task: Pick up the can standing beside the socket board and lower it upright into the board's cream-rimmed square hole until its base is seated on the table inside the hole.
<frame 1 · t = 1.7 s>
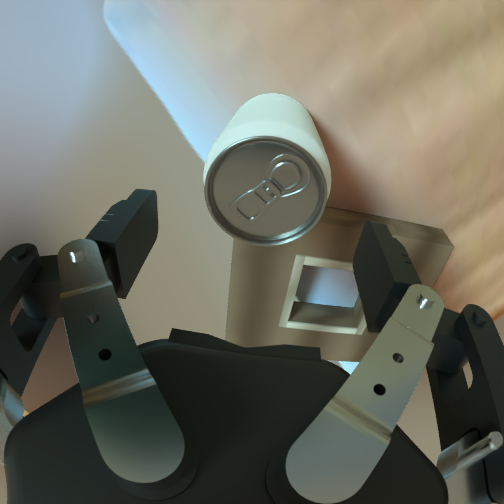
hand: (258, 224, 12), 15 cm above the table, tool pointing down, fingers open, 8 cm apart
can: (273, 130, 24), on the table
socket board: (330, 278, 32), on the table
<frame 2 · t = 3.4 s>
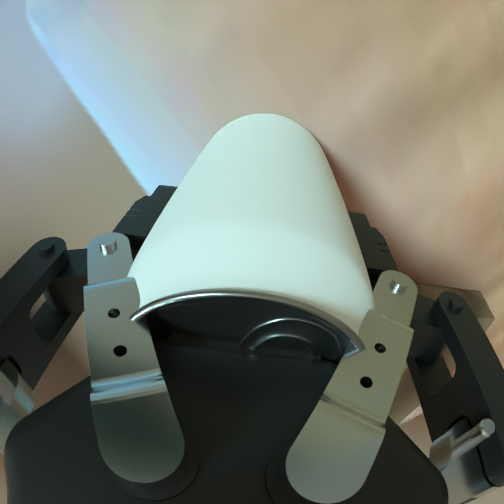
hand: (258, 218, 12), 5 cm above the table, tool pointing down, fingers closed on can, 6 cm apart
can: (264, 170, 16), on the table, touching gripper
socket board: (337, 350, 24), on the table
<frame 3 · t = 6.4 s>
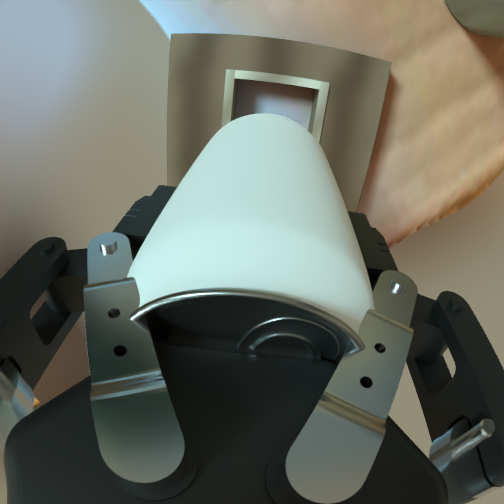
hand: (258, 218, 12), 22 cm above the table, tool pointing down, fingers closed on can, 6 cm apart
can: (264, 169, 16), point 17 cm above the table, touching gripper
socket board: (272, 115, 30), on the table
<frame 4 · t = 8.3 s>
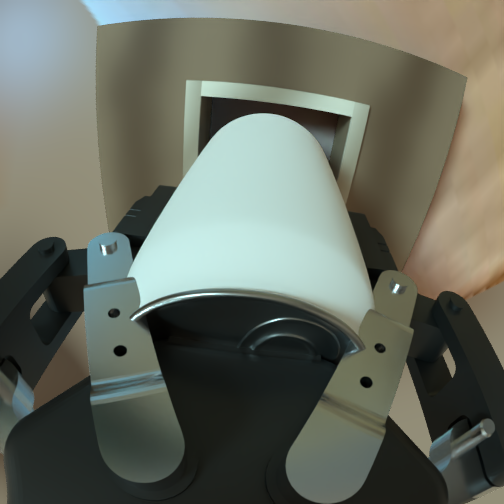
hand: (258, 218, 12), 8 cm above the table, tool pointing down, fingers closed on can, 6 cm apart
can: (264, 170, 16), point 3 cm above the table, touching gripper
socket board: (269, 153, 19), on the table
when the fingers open (6 cm above the table, at t = 9.7 s): can drops 1 cm, resting in socket board.
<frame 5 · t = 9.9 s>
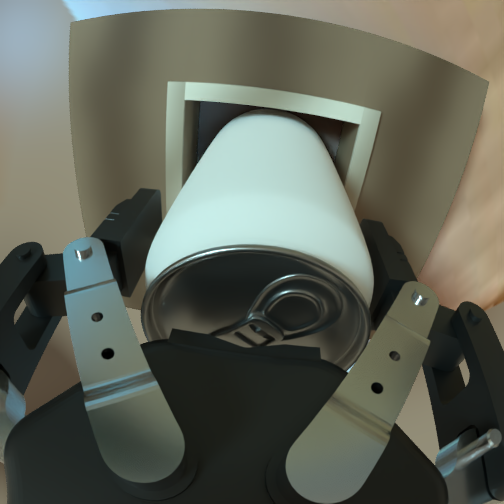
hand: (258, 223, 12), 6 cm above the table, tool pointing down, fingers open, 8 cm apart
can: (268, 162, 17), resting in socket board
socket board: (264, 164, 17), on the table
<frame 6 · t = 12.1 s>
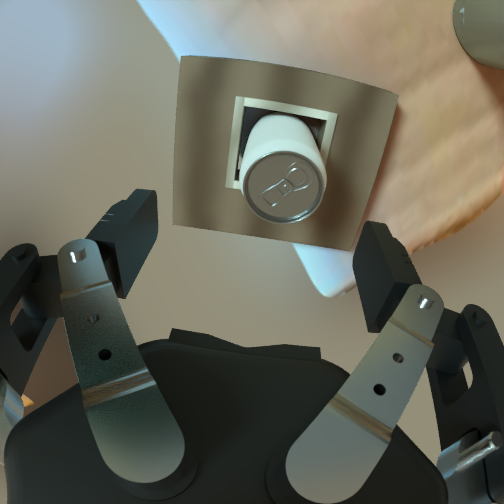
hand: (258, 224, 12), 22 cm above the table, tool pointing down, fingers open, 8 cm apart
can: (280, 140, 31), resting in socket board
socket board: (278, 141, 31), on the table
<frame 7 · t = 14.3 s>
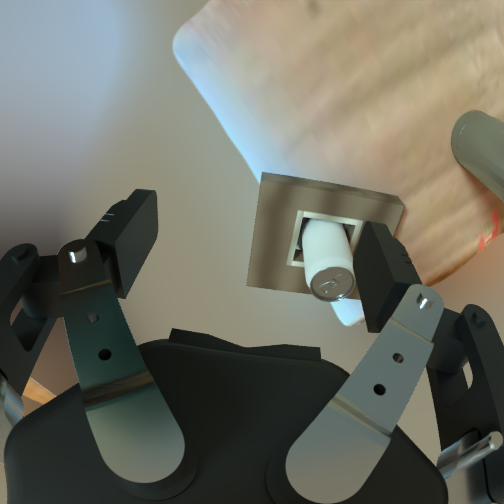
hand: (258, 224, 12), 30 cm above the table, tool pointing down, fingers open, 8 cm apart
can: (322, 230, 47), resting in socket board
socket board: (321, 231, 47), on the table
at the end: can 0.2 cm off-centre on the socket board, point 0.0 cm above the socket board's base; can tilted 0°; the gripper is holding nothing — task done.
